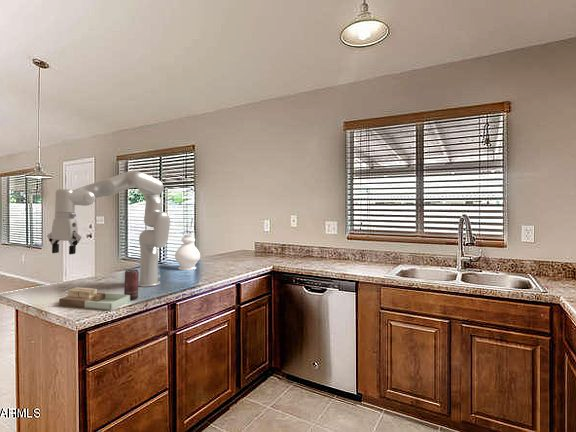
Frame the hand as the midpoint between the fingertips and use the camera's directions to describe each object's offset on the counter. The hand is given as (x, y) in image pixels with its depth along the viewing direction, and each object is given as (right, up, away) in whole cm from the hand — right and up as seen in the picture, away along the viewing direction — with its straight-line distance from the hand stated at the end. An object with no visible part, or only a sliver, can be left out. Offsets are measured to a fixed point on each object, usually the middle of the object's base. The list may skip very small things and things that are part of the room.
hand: (63, 253), depth 155 cm
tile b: (+12, -20, -1) cm, 23 cm away
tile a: (+7, -19, 0) cm, 21 cm away
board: (+9, -23, -1) cm, 24 cm away
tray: (+22, -23, -2) cm, 32 cm away
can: (+28, -23, +8) cm, 37 cm away
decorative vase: (+31, -21, +89) cm, 97 cm away
